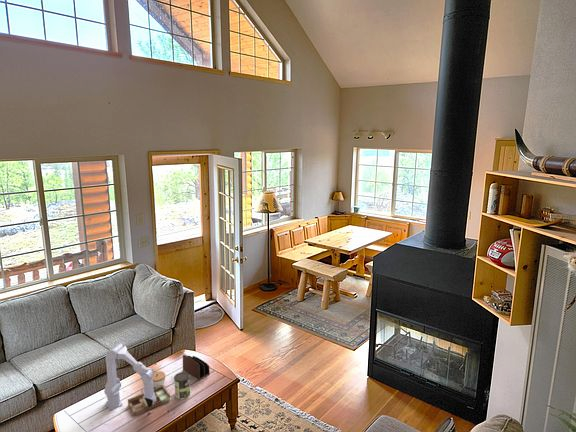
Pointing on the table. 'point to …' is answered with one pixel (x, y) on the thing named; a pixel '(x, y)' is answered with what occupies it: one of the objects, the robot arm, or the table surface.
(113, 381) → the robot arm
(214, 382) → the table surface
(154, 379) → the lidded jar
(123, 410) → the table surface
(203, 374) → the letter holder
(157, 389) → the board
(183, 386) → the coffee can
